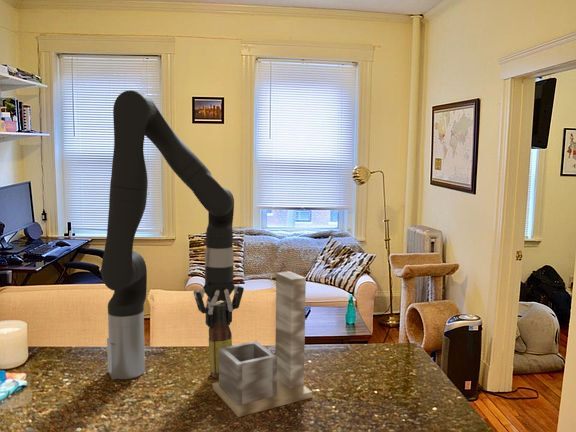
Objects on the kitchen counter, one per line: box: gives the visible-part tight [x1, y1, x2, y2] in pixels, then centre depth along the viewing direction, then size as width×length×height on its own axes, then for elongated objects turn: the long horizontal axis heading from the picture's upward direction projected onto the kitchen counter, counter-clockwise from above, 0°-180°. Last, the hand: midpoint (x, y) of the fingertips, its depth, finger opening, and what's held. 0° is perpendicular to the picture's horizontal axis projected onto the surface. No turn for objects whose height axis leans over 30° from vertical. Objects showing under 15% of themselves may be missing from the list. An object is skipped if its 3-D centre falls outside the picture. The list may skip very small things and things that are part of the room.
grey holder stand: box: [212, 270, 313, 418], centre depth 125 cm, size 20×16×30 cm
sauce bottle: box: [208, 301, 233, 379], centre depth 136 cm, size 7×6×20 cm
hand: (218, 325), depth 135 cm, fingers closed on sauce bottle, 4 cm apart
